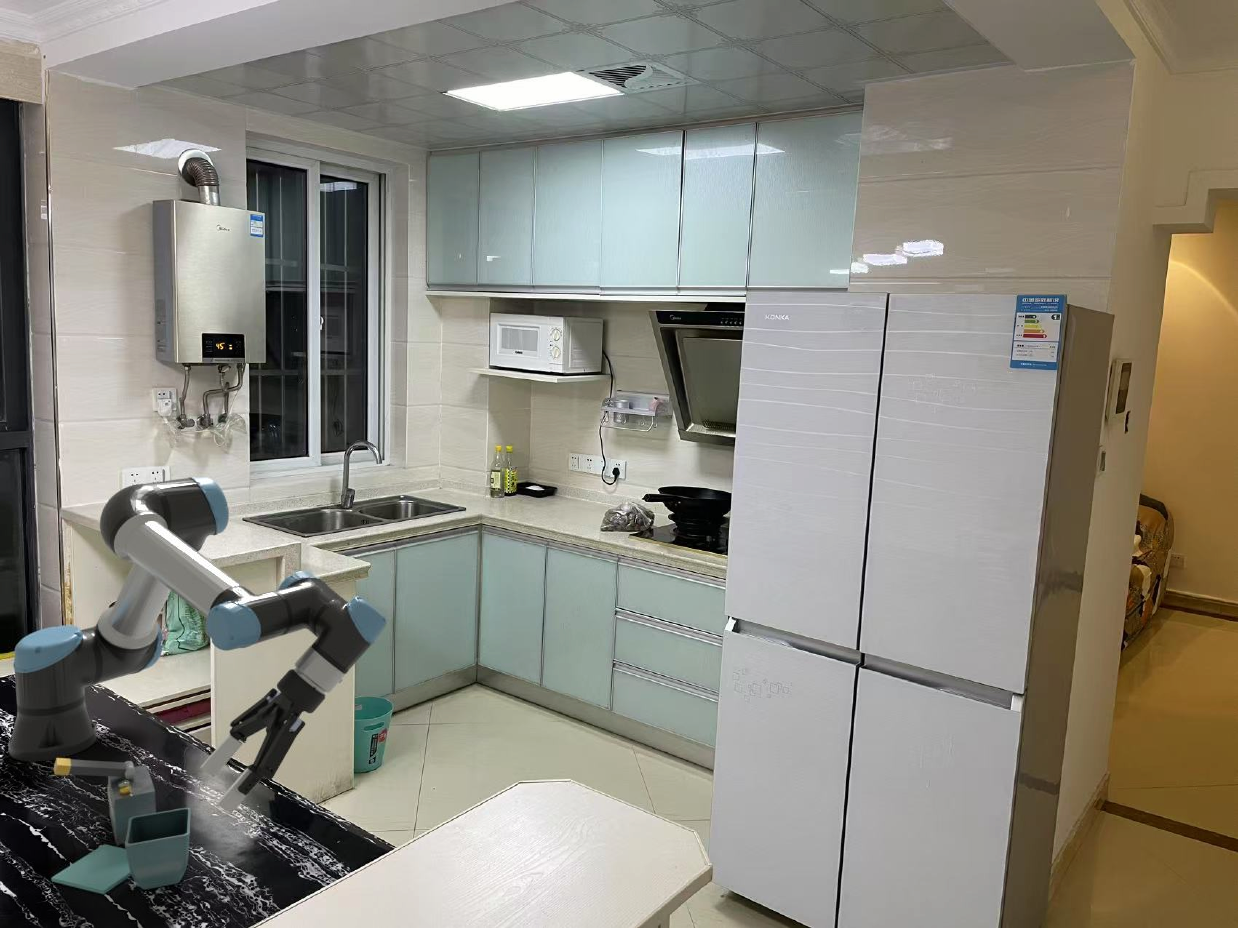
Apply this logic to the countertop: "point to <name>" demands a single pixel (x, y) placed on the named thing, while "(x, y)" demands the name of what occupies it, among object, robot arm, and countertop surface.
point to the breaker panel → (130, 800)
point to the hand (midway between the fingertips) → (214, 789)
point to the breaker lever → (94, 768)
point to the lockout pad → (97, 870)
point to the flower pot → (158, 847)
